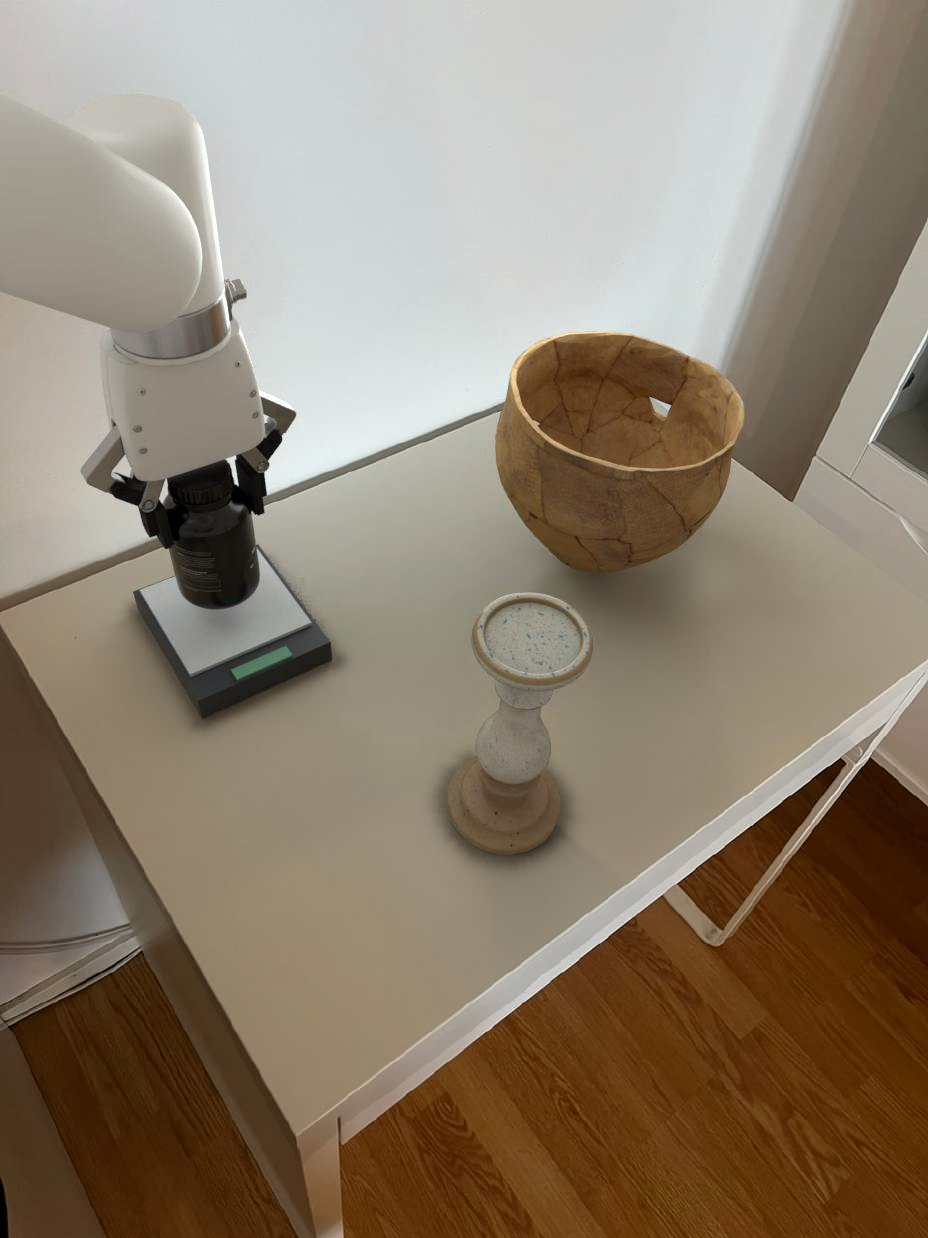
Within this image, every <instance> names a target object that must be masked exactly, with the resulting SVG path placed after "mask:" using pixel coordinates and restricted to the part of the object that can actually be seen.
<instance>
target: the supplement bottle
mask: <svg viewBox="0 0 928 1238" xmlns="http://www.w3.org/2000/svg"><path fill="white" fill-rule="evenodd" d="M165 480H166V483H167V494H166V496H165V498H164V499H163V502H162V504H163V506H164V507H165V509H166V512H167V516H168V520H169V525H170V529H171V533H172V538H173V542H174V545H172V547H171V548H169V549H168V553H169V557H170V560H171V564H172V568H173V573H174V576H175V577H176V581H177V585H178V588H179V591H180V593H181V594H182V596H183V597H184V598H185V599H186V600H187V601H188V602H190V603H191V604H193V605H195V606H197V607H200V608H204V609H210V610H220V609H227V608H231V607H234V606H237V605H239V604H241V603H243V602H244V601H246V600H247V599H248V598H250V597H251V596H252V595H253V593H254V592H255V591H256V589H257V587H258V585H259V582H260V569H259V561H258V554H257V547H256V545H257V541H256V533H255V529H254V528H255V527H254V520H253V512H252V510H251V506H250V502H249V499H248V497H247V495H246V493H245V492H244V491H243V490H242V489H241V488H240V487H239V485H238V484H236V482H235V478H234V476H233V469H232V467H231V463H230V462H229V461H228V460H227V459H224V460H221V461H218V462H215V463H212V464H209V465H206V466H203V467H200V468H197V469H194V470H191V471H188V472H185V473H182V474H179V475H176V476H172V477H169V478H166V479H165Z"/></svg>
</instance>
